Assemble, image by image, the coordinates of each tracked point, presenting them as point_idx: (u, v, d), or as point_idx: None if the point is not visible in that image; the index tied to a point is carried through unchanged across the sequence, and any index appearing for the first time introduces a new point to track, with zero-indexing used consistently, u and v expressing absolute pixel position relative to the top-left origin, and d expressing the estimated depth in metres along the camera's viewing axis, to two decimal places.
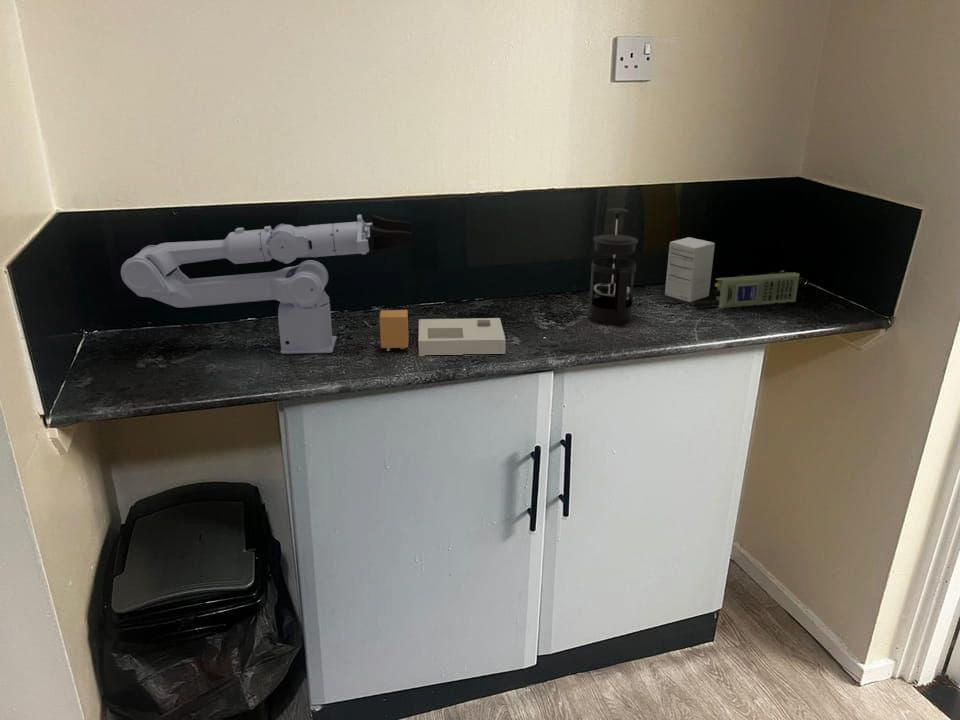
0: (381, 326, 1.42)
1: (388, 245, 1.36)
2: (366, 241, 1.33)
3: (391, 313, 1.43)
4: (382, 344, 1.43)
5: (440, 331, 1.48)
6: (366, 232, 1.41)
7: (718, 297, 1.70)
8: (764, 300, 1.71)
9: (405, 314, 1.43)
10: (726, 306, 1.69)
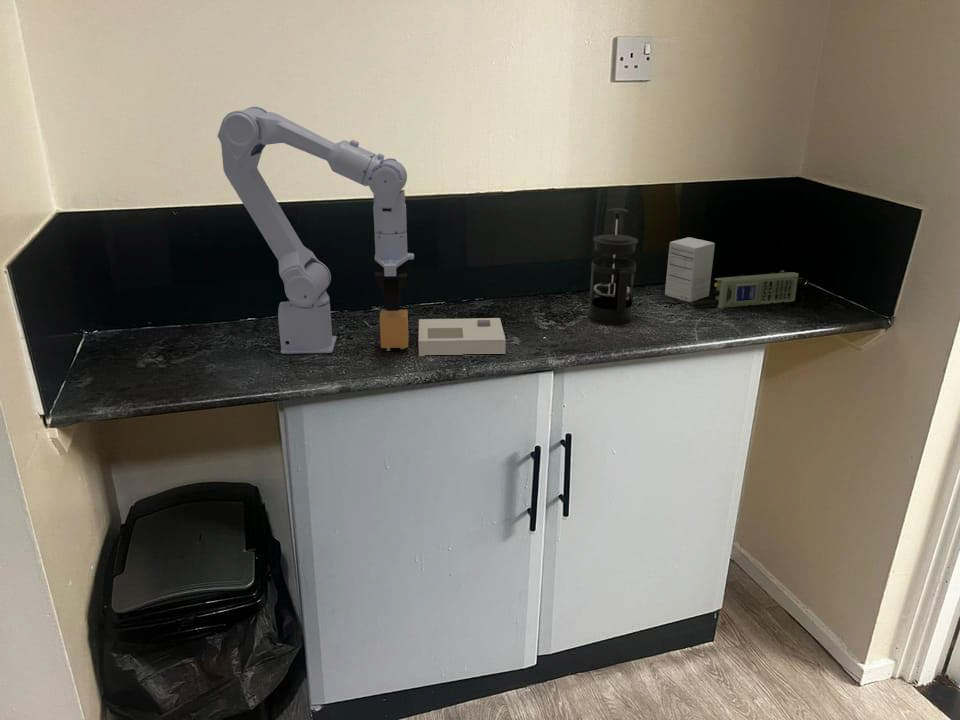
0: (381, 326, 1.42)
1: (387, 289, 1.37)
2: (395, 275, 1.33)
3: (391, 313, 1.43)
4: (382, 344, 1.43)
5: (440, 331, 1.48)
6: None
7: (717, 297, 1.70)
8: (763, 300, 1.72)
9: (405, 314, 1.43)
10: (725, 306, 1.70)
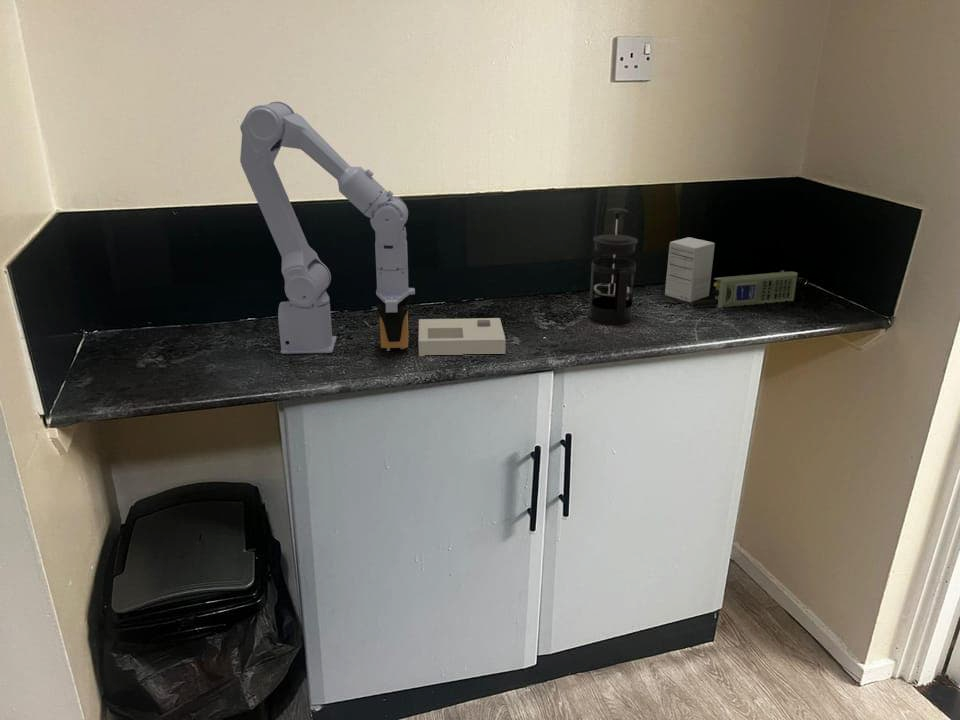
0: (381, 326, 1.42)
1: (389, 321, 1.41)
2: (396, 311, 1.36)
3: None
4: (382, 344, 1.43)
5: (440, 331, 1.48)
6: None
7: (717, 296, 1.70)
8: (762, 299, 1.72)
9: None
10: (725, 305, 1.70)
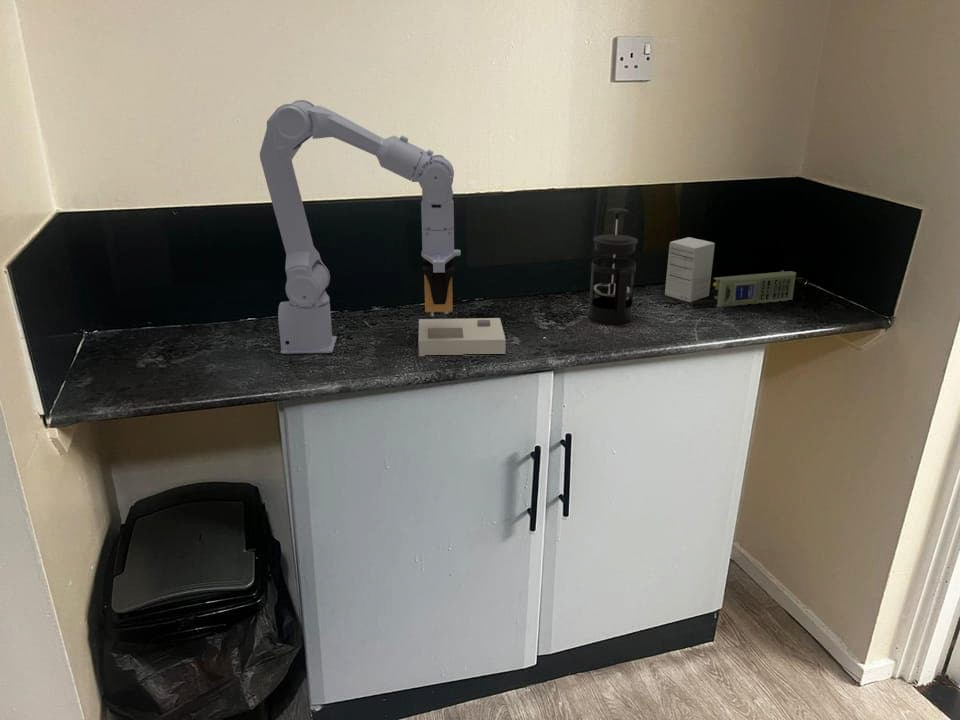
0: (426, 289, 1.40)
1: (434, 283, 1.39)
2: (444, 271, 1.33)
3: None
4: (426, 308, 1.41)
5: (440, 331, 1.48)
6: None
7: (716, 296, 1.70)
8: (761, 299, 1.72)
9: None
10: (724, 305, 1.70)
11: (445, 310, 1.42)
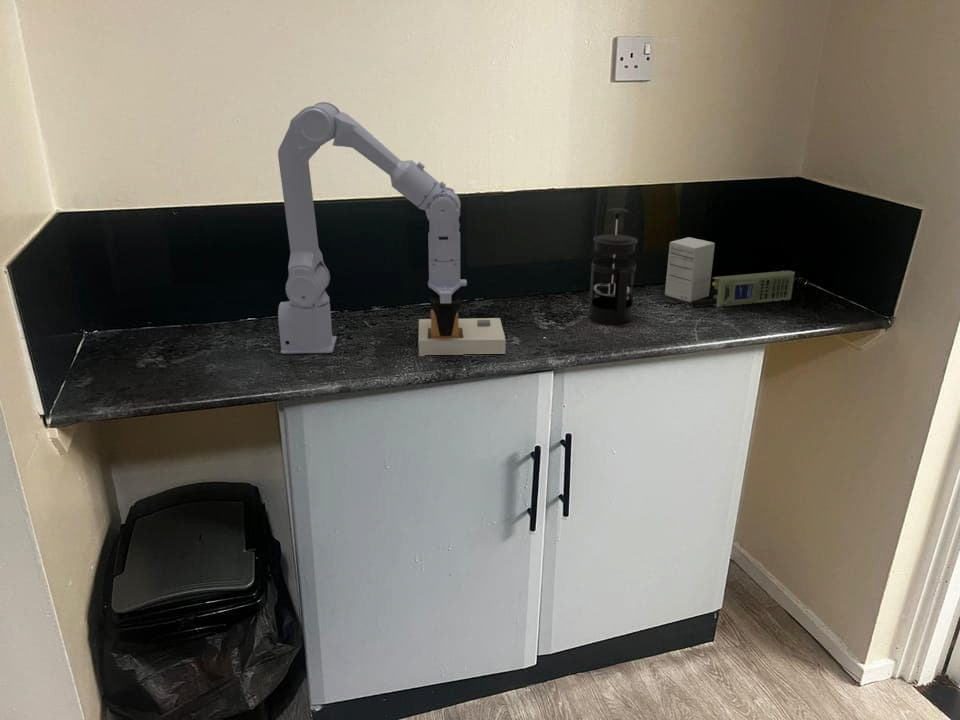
0: (432, 325, 1.43)
1: (441, 315, 1.40)
2: (450, 302, 1.36)
3: None
4: None
5: None
6: None
7: (715, 296, 1.70)
8: (760, 298, 1.73)
9: (456, 313, 1.44)
10: (723, 305, 1.70)
11: None
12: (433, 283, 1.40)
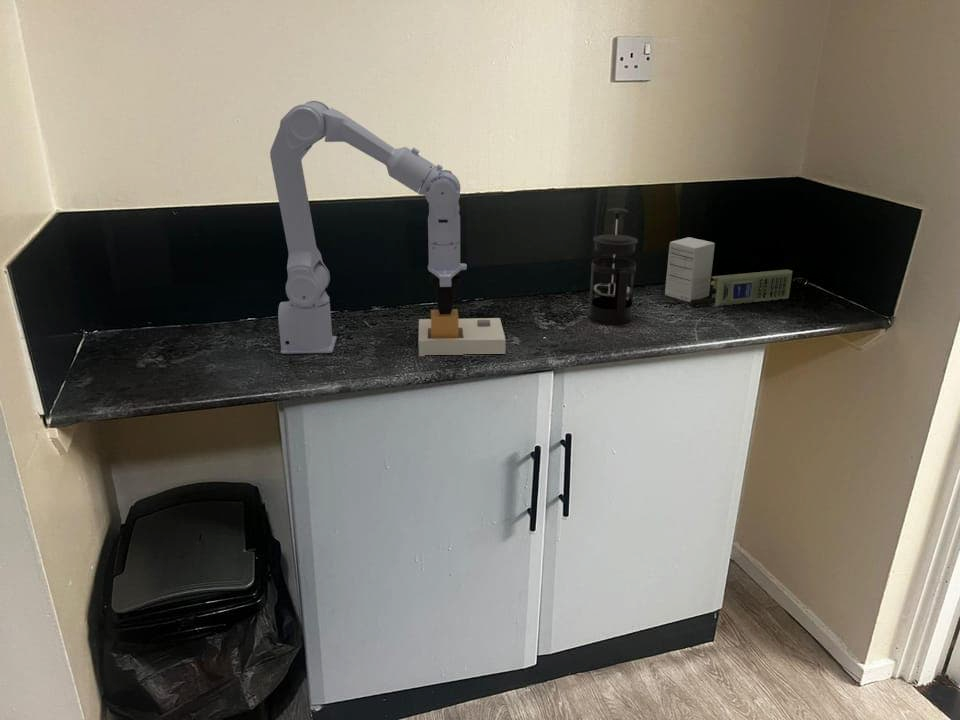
0: (432, 325, 1.43)
1: (440, 293, 1.42)
2: (450, 285, 1.35)
3: None
4: None
5: None
6: None
7: (714, 295, 1.71)
8: (759, 297, 1.73)
9: (456, 313, 1.44)
10: (722, 304, 1.71)
11: None
12: (433, 267, 1.38)
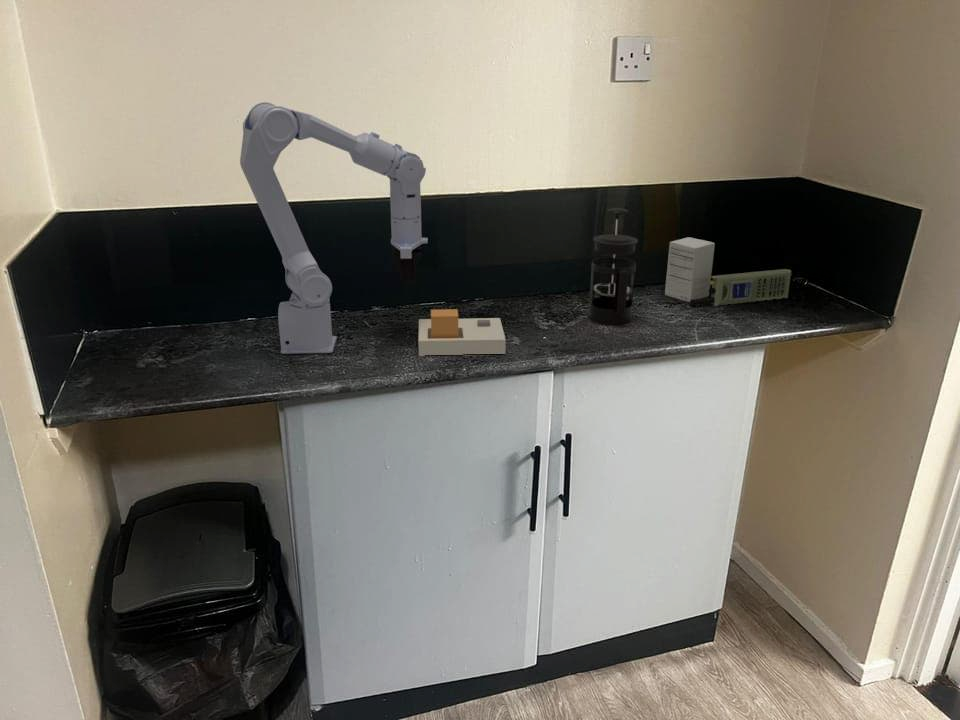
0: (432, 325, 1.43)
1: (403, 266, 1.49)
2: (410, 257, 1.42)
3: (442, 312, 1.44)
4: None
5: None
6: None
7: (713, 295, 1.71)
8: (758, 297, 1.74)
9: (456, 313, 1.44)
10: (721, 303, 1.71)
11: None
12: (395, 240, 1.46)
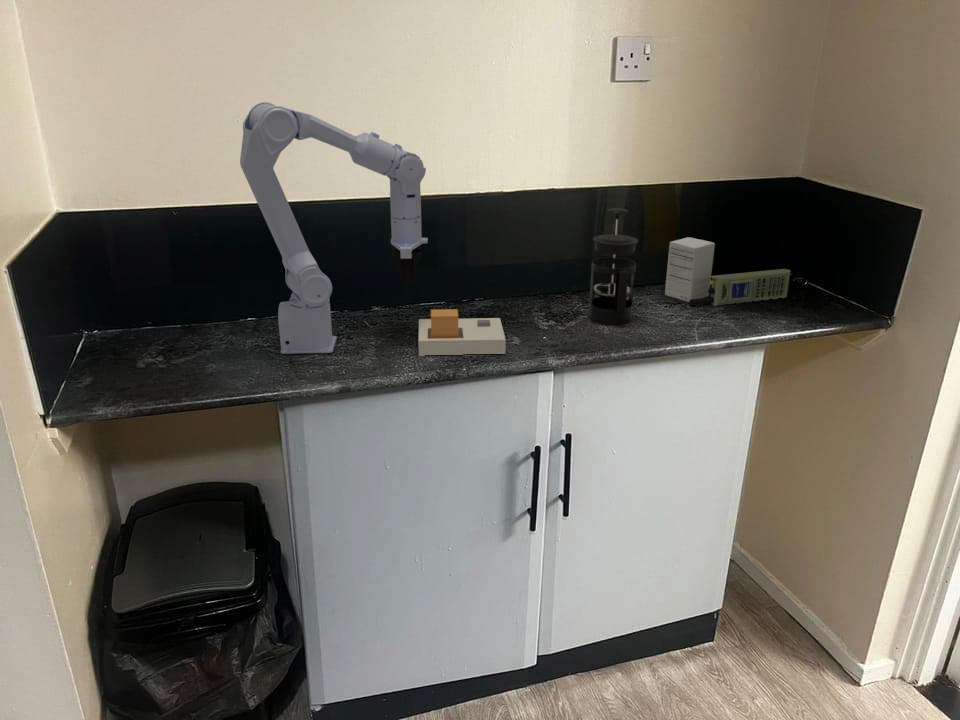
0: (432, 325, 1.43)
1: (403, 266, 1.49)
2: (410, 257, 1.42)
3: (442, 312, 1.44)
4: None
5: None
6: None
7: (713, 294, 1.71)
8: (757, 297, 1.74)
9: (456, 313, 1.44)
10: (721, 303, 1.71)
11: None
12: (395, 240, 1.46)
